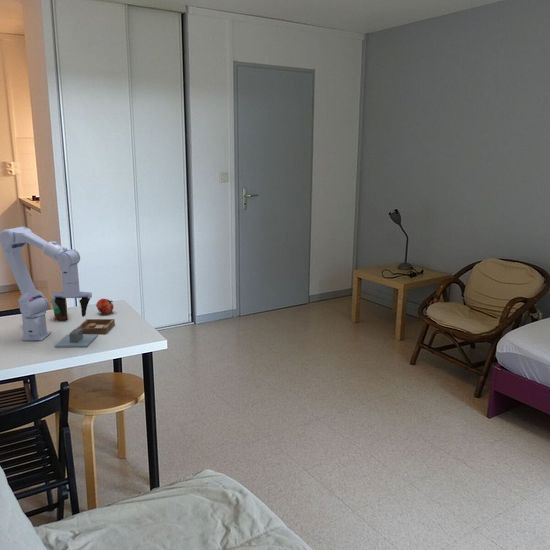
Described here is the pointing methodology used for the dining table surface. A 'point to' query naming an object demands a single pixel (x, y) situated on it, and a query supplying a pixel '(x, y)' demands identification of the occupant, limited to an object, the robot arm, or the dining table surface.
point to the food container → (57, 311)
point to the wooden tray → (96, 326)
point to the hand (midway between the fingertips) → (74, 315)
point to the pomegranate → (104, 306)
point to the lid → (76, 339)
